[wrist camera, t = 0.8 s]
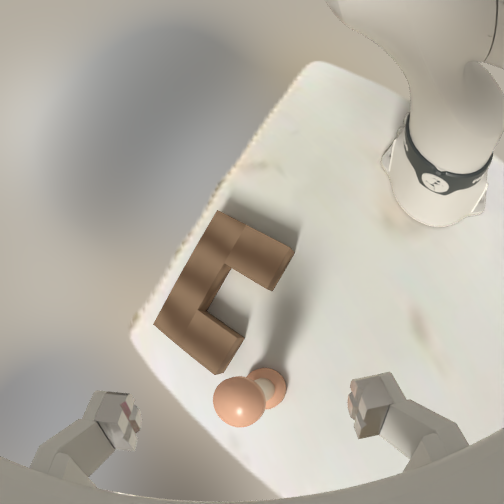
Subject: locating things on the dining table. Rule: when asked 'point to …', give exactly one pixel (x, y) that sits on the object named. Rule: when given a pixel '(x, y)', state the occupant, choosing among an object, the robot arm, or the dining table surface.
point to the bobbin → (248, 396)
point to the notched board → (209, 282)
